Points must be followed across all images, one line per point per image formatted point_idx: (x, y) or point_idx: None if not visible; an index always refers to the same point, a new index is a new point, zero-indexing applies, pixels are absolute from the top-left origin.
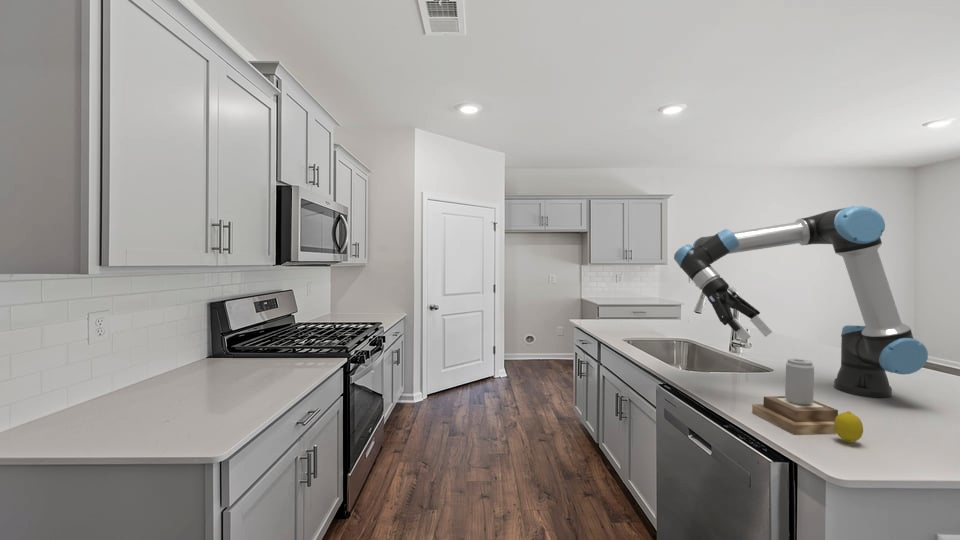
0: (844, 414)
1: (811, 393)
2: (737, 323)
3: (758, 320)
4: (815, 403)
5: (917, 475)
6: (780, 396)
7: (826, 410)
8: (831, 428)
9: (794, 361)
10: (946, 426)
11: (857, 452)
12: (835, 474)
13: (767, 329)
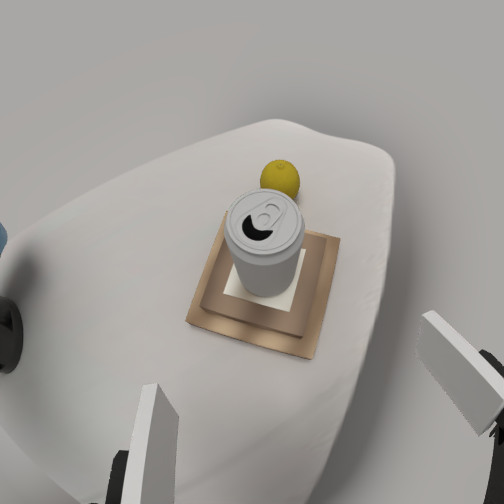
0: (289, 169)
1: (264, 231)
2: (491, 375)
3: (152, 483)
4: (230, 257)
5: (300, 129)
6: (258, 322)
7: None
8: None
9: (290, 221)
10: (77, 201)
11: (303, 176)
12: (389, 157)
13: (159, 412)
